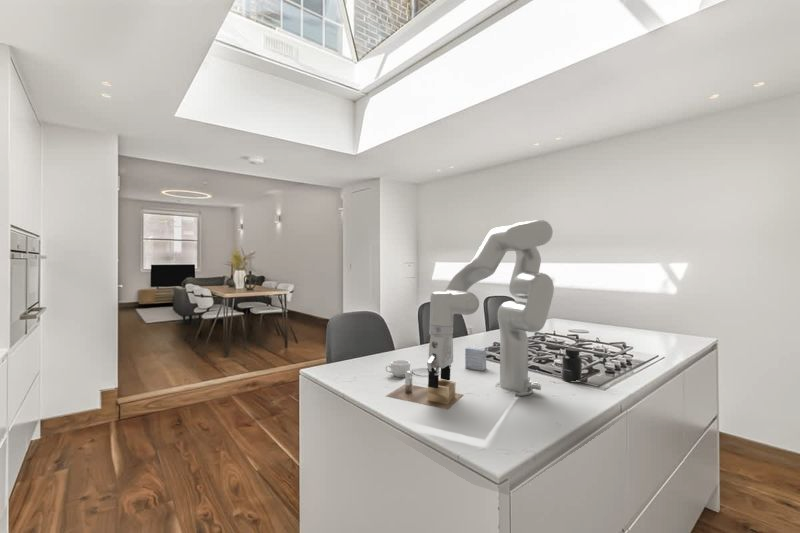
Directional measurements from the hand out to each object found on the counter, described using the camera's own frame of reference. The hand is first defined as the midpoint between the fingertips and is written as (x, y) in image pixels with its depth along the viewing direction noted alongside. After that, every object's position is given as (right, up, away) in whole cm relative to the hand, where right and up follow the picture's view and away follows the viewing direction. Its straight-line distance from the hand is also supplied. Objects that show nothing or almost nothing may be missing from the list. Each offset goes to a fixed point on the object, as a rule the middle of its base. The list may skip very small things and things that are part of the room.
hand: (439, 383), depth 120 cm
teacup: (-14, -6, +29) cm, 33 cm away
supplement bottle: (+53, -7, +24) cm, 59 cm away
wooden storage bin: (+1, -5, 0) cm, 5 cm away
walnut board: (-4, -7, +3) cm, 9 cm away
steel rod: (-10, -5, +6) cm, 13 cm away
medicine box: (+20, -6, +39) cm, 44 cm away
